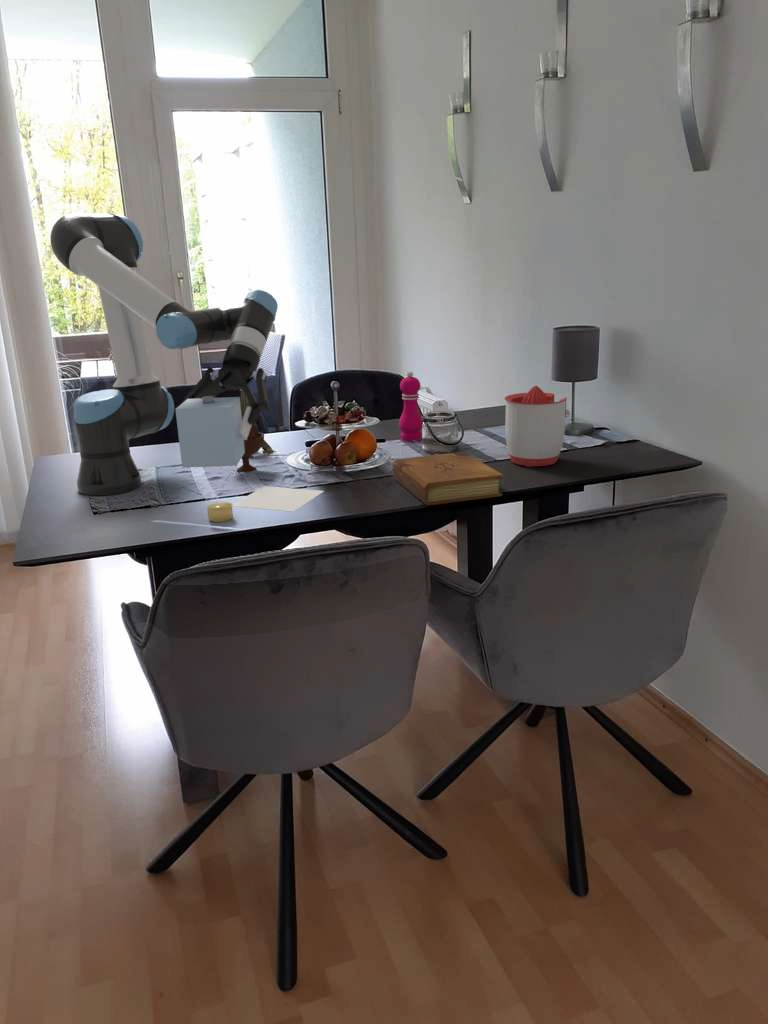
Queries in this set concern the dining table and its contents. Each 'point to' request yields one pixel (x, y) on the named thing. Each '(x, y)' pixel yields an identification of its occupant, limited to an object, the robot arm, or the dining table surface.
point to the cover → (210, 431)
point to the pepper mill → (410, 409)
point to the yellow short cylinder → (220, 511)
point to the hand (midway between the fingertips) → (214, 435)
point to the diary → (447, 478)
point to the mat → (278, 498)
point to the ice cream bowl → (251, 448)
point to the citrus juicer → (534, 427)
